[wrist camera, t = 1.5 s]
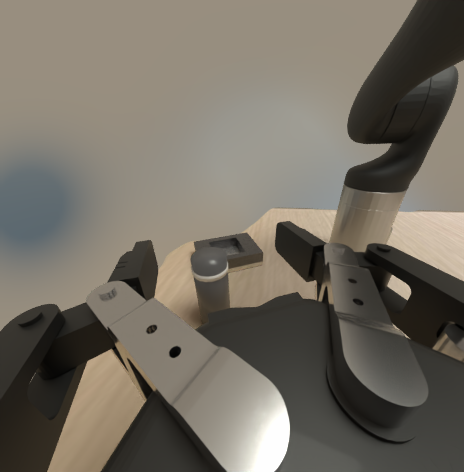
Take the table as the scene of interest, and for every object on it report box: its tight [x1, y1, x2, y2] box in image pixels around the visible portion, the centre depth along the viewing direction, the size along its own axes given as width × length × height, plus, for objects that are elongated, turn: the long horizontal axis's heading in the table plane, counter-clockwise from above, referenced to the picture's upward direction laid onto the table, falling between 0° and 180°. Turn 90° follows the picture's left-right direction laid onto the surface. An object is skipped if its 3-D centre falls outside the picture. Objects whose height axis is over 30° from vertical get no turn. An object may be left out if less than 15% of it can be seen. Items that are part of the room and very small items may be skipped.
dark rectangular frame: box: [194, 233, 263, 273], centre depth 43 cm, size 14×10×4 cm
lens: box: [191, 247, 230, 324], centre depth 27 cm, size 5×5×12 cm
